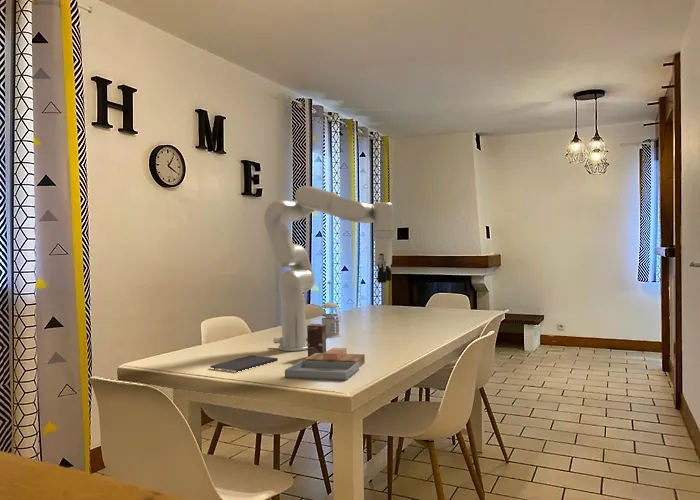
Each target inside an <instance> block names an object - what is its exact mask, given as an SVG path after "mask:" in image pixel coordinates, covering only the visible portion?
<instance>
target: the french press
mask: <svg viewBox="0 0 700 500" xmlns="http://www.w3.org/2000/svg"><path fill="white" fill-rule="evenodd" d="M327 285H329V287H328V288H329V289H328V290H329V295H331V288H330V287H331V285H332V281H330V280H329V281H327ZM339 306H340V305H339V304H338V303H335V302H331V301H329V302H326V303H323V304H322V305H320V308H324V309H333V310H332V311H335V312H336V313H324V314H322V318H321V324H325V325H326V339H334V338H340V337H342V334H341V333H340V322H341V319H340V317H338V316H339V314H338V311H339V313H341V311H340V309H339Z"/></svg>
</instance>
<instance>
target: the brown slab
mask: <svg viewBox="0 0 700 500" xmlns="http://www.w3.org/2000/svg"><path fill="white" fill-rule="evenodd" d="M365 357H366V355H365V354H360V353H347V354H346V355H344V356H343V357H341V358H340V359H338V360H327V359H323V353H314V354H313V355H311V356H309V357H308V356H307V357H305V358H304V361H328V362H355V363H359V368H360V367H362V366H363V365H365V364H366V360H365Z"/></svg>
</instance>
